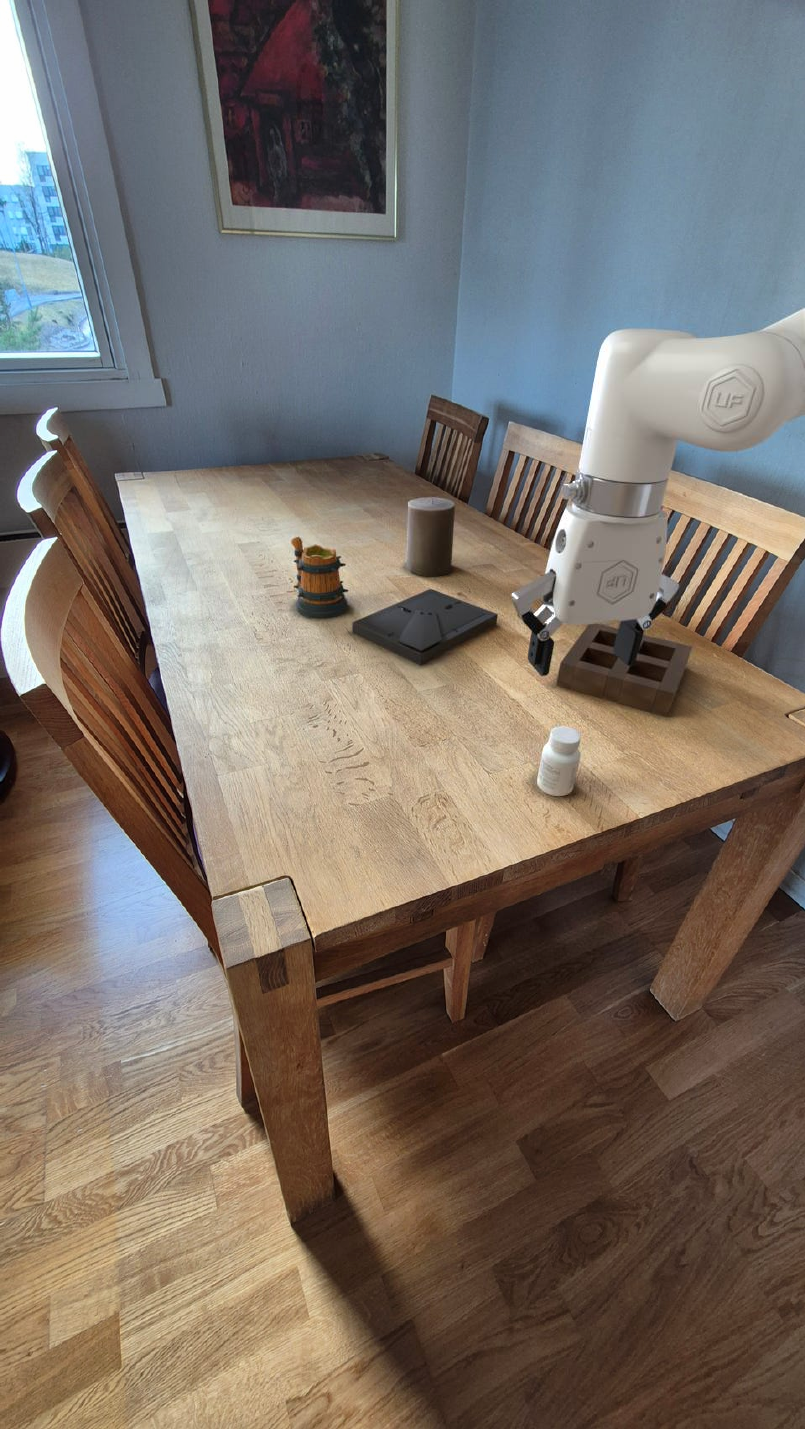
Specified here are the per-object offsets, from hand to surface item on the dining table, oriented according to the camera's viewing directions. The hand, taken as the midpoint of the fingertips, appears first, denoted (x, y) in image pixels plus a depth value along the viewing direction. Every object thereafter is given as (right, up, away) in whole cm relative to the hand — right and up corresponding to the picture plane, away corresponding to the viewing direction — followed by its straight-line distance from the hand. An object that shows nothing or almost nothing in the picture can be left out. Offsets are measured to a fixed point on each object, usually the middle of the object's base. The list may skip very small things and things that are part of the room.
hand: (581, 664), depth 64 cm
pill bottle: (0, -14, +12) cm, 19 cm away
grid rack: (+16, +1, +34) cm, 38 cm away
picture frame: (-14, +10, +46) cm, 49 cm away
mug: (-34, +15, +53) cm, 65 cm away
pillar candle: (-13, +26, +70) cm, 76 cm away
